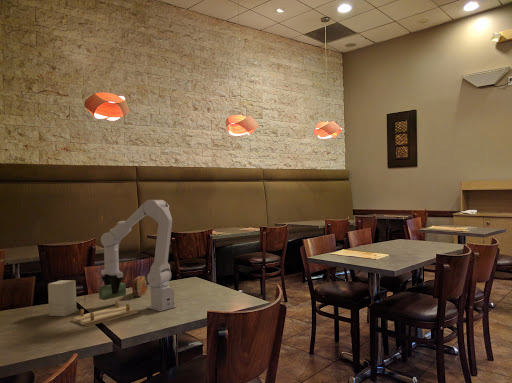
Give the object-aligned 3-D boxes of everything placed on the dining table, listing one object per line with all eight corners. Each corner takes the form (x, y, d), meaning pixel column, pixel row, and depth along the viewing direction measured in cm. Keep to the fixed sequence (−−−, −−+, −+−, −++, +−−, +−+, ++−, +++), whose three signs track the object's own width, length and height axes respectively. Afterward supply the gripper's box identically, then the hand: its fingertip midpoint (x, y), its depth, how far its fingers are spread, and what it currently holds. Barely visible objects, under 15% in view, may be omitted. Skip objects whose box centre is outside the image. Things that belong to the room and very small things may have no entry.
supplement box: (77, 311, 158) (76, 280, 159) (63, 316, 151) (62, 284, 152) (62, 310, 160) (61, 279, 161) (48, 315, 153) (47, 283, 154)
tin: (138, 298, 177) (137, 279, 177) (131, 298, 177) (130, 280, 177) (148, 290, 192) (147, 273, 192) (141, 291, 192) (141, 273, 192)
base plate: (137, 312, 153) (137, 303, 153) (86, 326, 138) (86, 315, 138) (121, 308, 161) (121, 299, 161) (72, 320, 146) (71, 310, 146)
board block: (125, 295, 168) (125, 283, 168) (103, 300, 160) (103, 287, 161) (121, 293, 171) (120, 282, 171) (99, 298, 163) (98, 286, 163)
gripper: (94, 260, 168) (95, 292, 167) (111, 263, 158) (112, 297, 158) (109, 258, 173) (110, 289, 173) (127, 261, 163) (128, 293, 163)
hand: (112, 293), depth 166 cm, fingers closed on board block, 4 cm apart
